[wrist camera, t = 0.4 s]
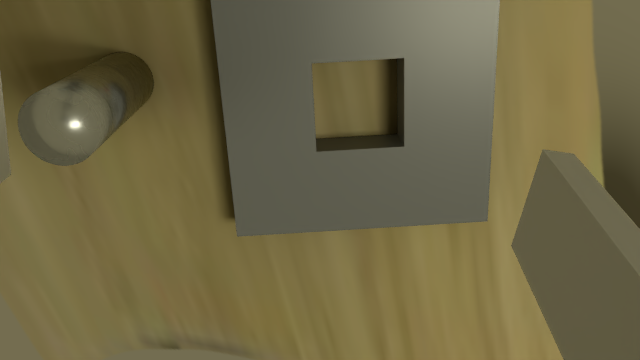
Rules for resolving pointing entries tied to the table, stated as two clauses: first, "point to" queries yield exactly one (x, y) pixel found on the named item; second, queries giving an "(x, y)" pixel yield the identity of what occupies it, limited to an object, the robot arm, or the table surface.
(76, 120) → the steel pin
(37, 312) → the table surface
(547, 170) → the robot arm
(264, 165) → the hole block
